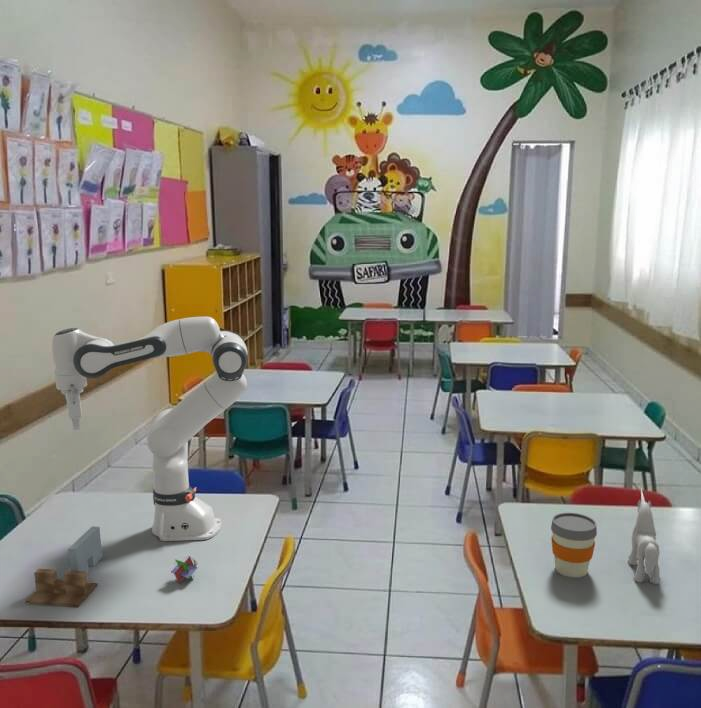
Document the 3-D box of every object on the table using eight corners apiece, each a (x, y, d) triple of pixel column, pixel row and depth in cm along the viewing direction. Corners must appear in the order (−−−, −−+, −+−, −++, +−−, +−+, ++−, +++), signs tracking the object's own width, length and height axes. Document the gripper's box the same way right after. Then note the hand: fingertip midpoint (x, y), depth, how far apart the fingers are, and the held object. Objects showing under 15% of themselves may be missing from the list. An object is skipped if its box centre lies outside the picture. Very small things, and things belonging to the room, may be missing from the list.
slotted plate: (94, 556, 215) (91, 526, 213) (102, 557, 215) (99, 526, 213) (71, 580, 201) (68, 548, 199) (79, 581, 201) (76, 549, 199)
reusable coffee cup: (540, 568, 206) (542, 520, 203) (564, 554, 214) (567, 508, 210) (578, 585, 196) (581, 536, 193) (602, 570, 204) (606, 522, 201)
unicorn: (649, 548, 217) (654, 488, 212) (664, 592, 193) (670, 524, 189) (623, 546, 218) (627, 485, 214) (635, 588, 195) (640, 521, 190)
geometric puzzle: (179, 585, 195) (191, 556, 197) (162, 578, 198) (173, 550, 201) (195, 589, 200) (206, 561, 203) (177, 582, 204) (188, 555, 206)
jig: (97, 585, 199) (95, 563, 197) (78, 607, 188) (76, 584, 187) (47, 582, 201) (45, 560, 199) (25, 603, 190) (23, 580, 189)
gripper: (84, 388, 207) (88, 432, 210) (80, 373, 226) (84, 414, 229) (61, 390, 205) (66, 435, 208) (59, 375, 223) (64, 417, 226)
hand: (75, 424), depth 219 cm, fingers open, 8 cm apart
